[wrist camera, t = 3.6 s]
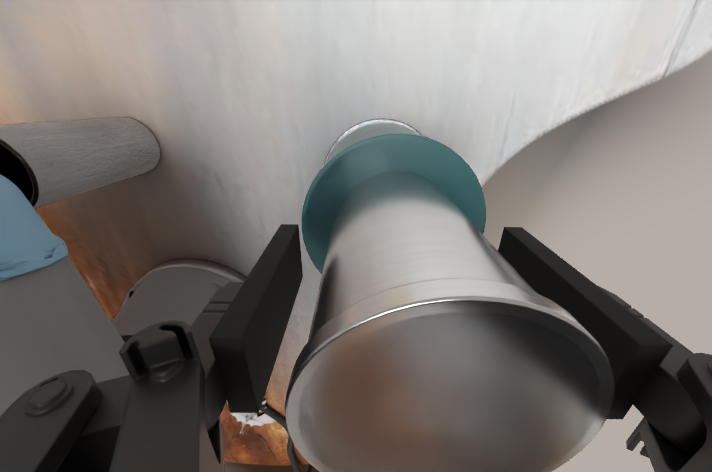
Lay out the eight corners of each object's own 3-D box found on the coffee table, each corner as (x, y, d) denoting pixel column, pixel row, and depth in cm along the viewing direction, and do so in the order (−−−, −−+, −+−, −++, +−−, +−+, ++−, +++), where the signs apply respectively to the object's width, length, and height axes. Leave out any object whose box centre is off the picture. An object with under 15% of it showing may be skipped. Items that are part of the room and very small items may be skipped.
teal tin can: (428, 230, 27) (468, 305, 17) (325, 229, 27) (306, 303, 17) (443, 119, 23) (509, 132, 13) (320, 117, 23) (291, 130, 13)
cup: (446, 283, 16) (553, 505, 7) (331, 282, 16) (297, 500, 7) (467, 167, 13) (687, 299, 4) (327, 165, 13) (262, 294, 4)
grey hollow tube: (167, 173, 25) (52, 216, 16) (116, 171, 25) (-30, 212, 16) (153, 118, 23) (11, 129, 14) (97, 115, 23) (-83, 125, 14)
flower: (244, 370, 38) (238, 387, 35) (296, 393, 40) (293, 410, 37) (218, 408, 39) (211, 426, 37) (269, 427, 41) (265, 446, 39)
